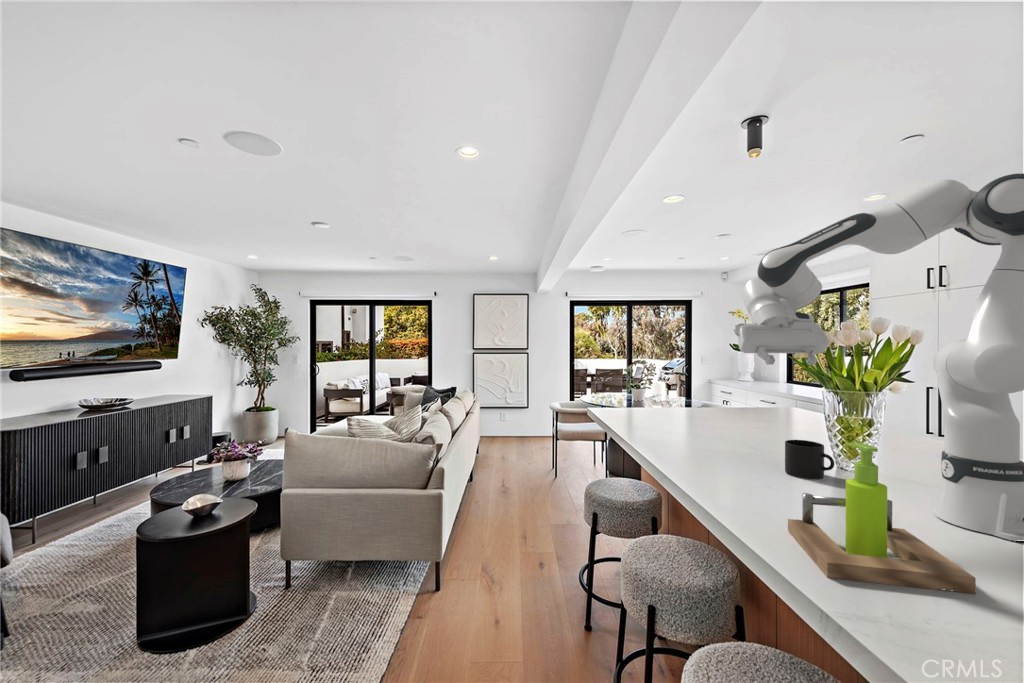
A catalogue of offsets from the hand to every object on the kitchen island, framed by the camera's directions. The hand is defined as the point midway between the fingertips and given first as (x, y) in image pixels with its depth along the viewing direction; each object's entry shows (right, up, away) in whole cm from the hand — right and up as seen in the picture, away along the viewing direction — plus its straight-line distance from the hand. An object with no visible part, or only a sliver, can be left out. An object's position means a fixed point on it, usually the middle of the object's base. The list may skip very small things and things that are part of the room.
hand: (791, 363), depth 107 cm
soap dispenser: (-4, -34, -26) cm, 43 cm away
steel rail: (-2, -31, -20) cm, 37 cm away
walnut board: (-4, -34, -28) cm, 44 cm away
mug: (+17, -33, +19) cm, 42 cm away
